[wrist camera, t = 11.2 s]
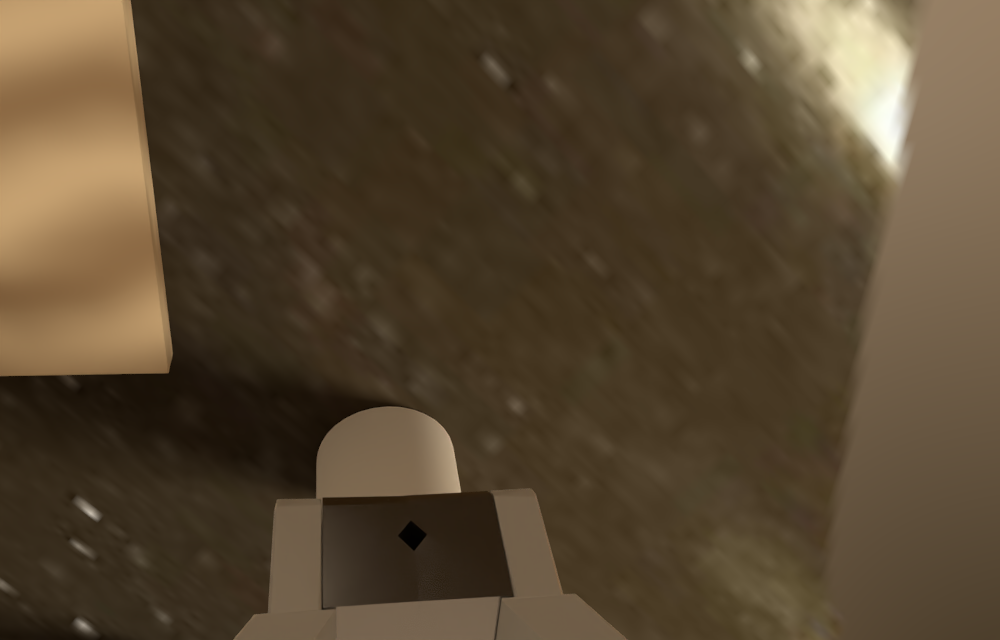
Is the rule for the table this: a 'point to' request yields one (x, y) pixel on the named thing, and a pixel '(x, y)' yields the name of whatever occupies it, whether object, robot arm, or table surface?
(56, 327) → the cutting board
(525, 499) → the robot arm
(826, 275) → the table surface
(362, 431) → the cylindrical container
